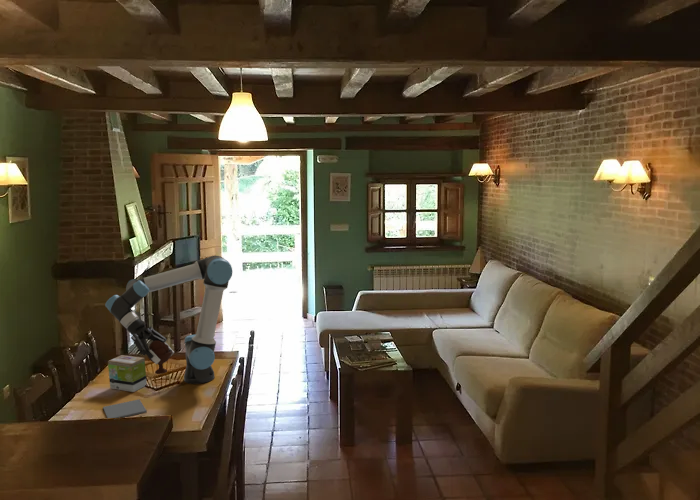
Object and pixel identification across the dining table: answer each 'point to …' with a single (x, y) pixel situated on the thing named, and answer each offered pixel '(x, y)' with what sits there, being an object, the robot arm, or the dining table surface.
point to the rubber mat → (124, 409)
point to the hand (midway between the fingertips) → (165, 358)
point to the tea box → (127, 373)
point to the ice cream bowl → (160, 354)
